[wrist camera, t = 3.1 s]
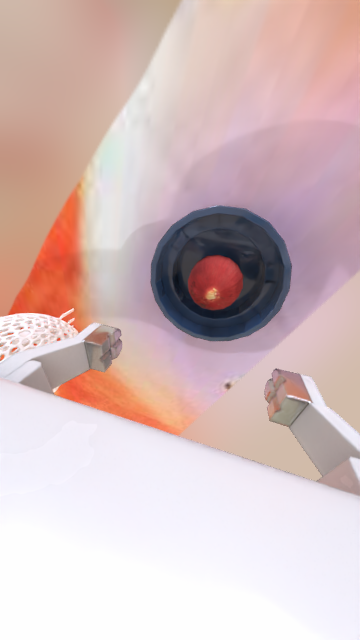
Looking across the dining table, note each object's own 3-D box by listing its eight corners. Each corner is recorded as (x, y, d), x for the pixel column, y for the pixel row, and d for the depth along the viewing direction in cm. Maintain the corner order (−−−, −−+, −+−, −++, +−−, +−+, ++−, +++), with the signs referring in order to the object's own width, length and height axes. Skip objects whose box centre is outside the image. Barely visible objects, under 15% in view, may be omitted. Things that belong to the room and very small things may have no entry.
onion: (219, 303, 25) (214, 336, 18) (186, 277, 24) (167, 301, 17) (251, 270, 21) (260, 295, 15) (214, 239, 21) (205, 250, 14)
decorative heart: (93, 368, 40) (15, 453, 26) (51, 347, 40) (-50, 420, 26) (103, 304, 30) (-12, 384, 16) (47, 277, 30) (-117, 331, 16)
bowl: (302, 217, 18) (323, 218, 14) (255, 331, 26) (260, 353, 21) (169, 200, 20) (152, 196, 16) (162, 309, 28) (149, 326, 24)
